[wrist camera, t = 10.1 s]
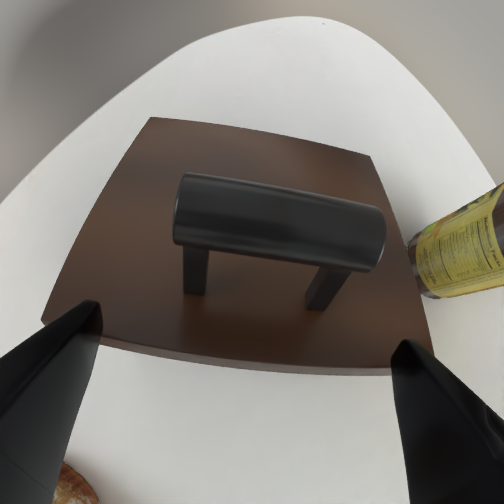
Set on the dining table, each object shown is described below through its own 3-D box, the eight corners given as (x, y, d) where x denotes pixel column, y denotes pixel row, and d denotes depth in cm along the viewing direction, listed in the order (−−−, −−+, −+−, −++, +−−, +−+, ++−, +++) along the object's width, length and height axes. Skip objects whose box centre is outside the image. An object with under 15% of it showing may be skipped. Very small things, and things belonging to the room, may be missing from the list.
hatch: (424, 374, 10) (518, 305, 6) (48, 331, 9) (-20, 227, 5) (365, 165, 19) (395, 98, 15) (150, 127, 17) (152, 51, 14)
